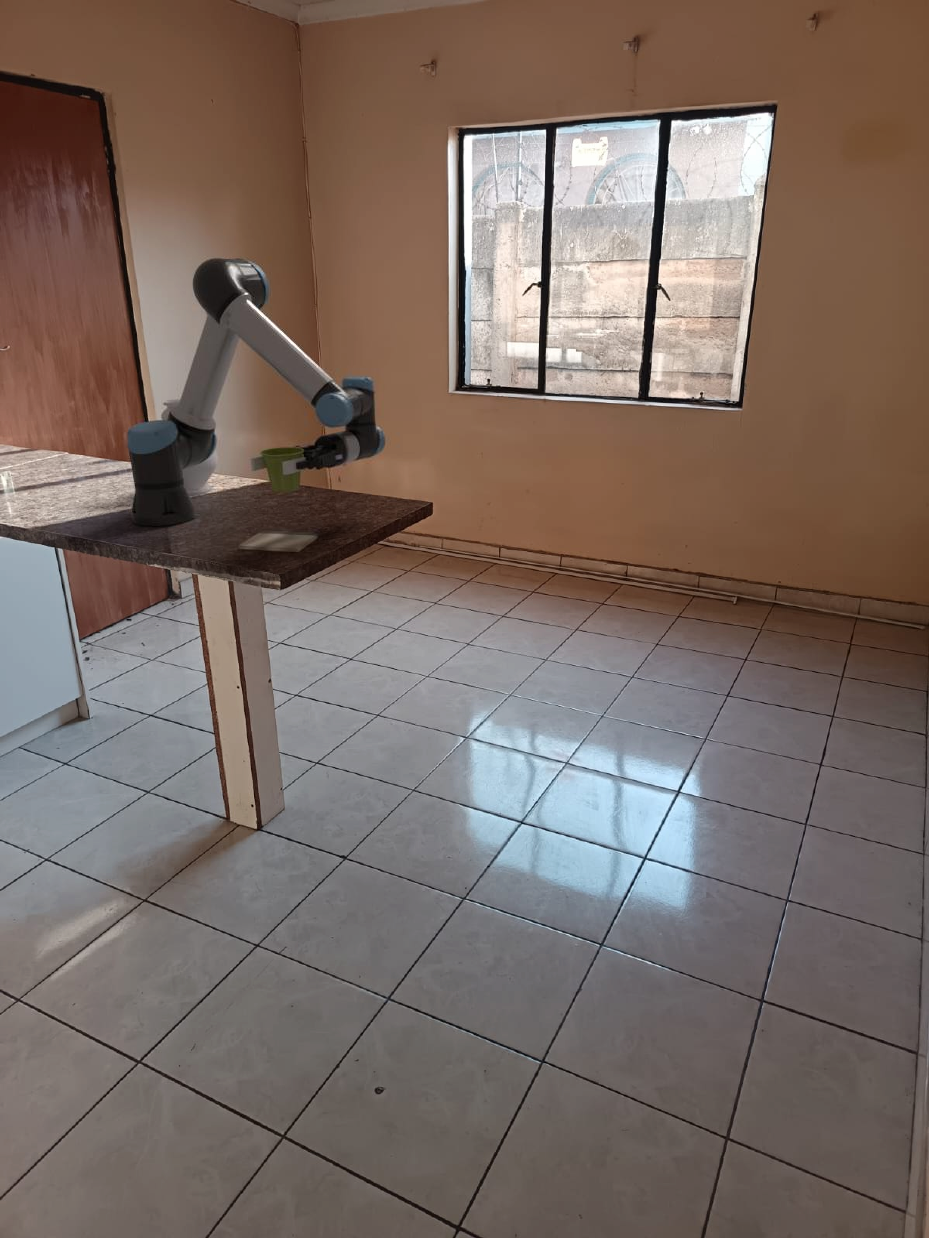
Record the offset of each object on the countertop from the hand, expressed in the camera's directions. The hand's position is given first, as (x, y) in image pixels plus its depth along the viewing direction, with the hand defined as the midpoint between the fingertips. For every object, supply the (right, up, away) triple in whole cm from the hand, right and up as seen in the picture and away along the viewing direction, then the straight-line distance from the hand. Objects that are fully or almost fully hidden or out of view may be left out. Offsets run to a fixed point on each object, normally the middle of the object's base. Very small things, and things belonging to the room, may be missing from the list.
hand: (268, 466), depth 186 cm
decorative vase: (-36, +3, +60) cm, 70 cm away
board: (+1, -16, +9) cm, 18 cm away
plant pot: (+3, -4, +6) cm, 8 cm away
